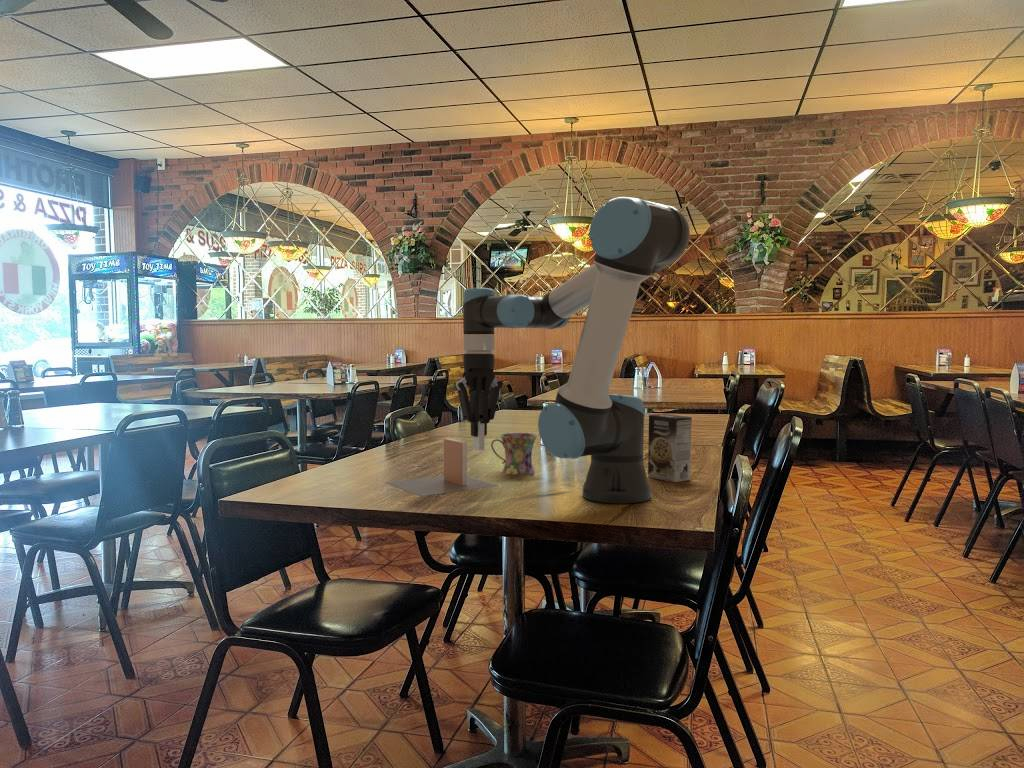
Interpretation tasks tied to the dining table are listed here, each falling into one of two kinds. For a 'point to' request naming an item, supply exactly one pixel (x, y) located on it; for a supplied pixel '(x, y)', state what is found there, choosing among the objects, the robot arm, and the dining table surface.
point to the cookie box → (669, 447)
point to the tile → (455, 461)
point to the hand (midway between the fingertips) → (478, 449)
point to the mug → (517, 452)
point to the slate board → (437, 485)
